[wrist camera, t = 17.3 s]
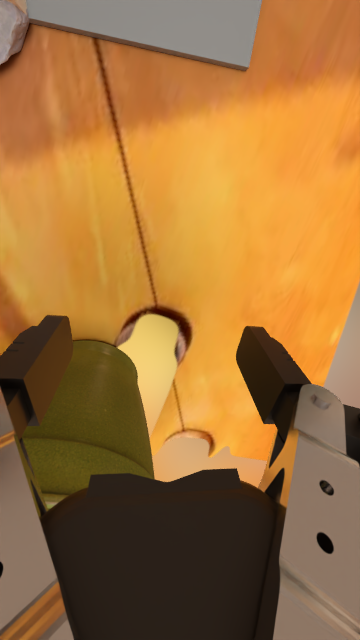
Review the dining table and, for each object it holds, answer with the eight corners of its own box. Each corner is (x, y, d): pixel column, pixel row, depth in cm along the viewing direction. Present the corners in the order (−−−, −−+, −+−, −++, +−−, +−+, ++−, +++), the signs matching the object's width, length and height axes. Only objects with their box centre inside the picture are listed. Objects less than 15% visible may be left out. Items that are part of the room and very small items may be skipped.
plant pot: (180, 391, 54) (199, 560, 30) (75, 426, 58) (17, 602, 34) (118, 289, 39) (57, 470, 15) (-20, 346, 43) (-251, 566, 18)
